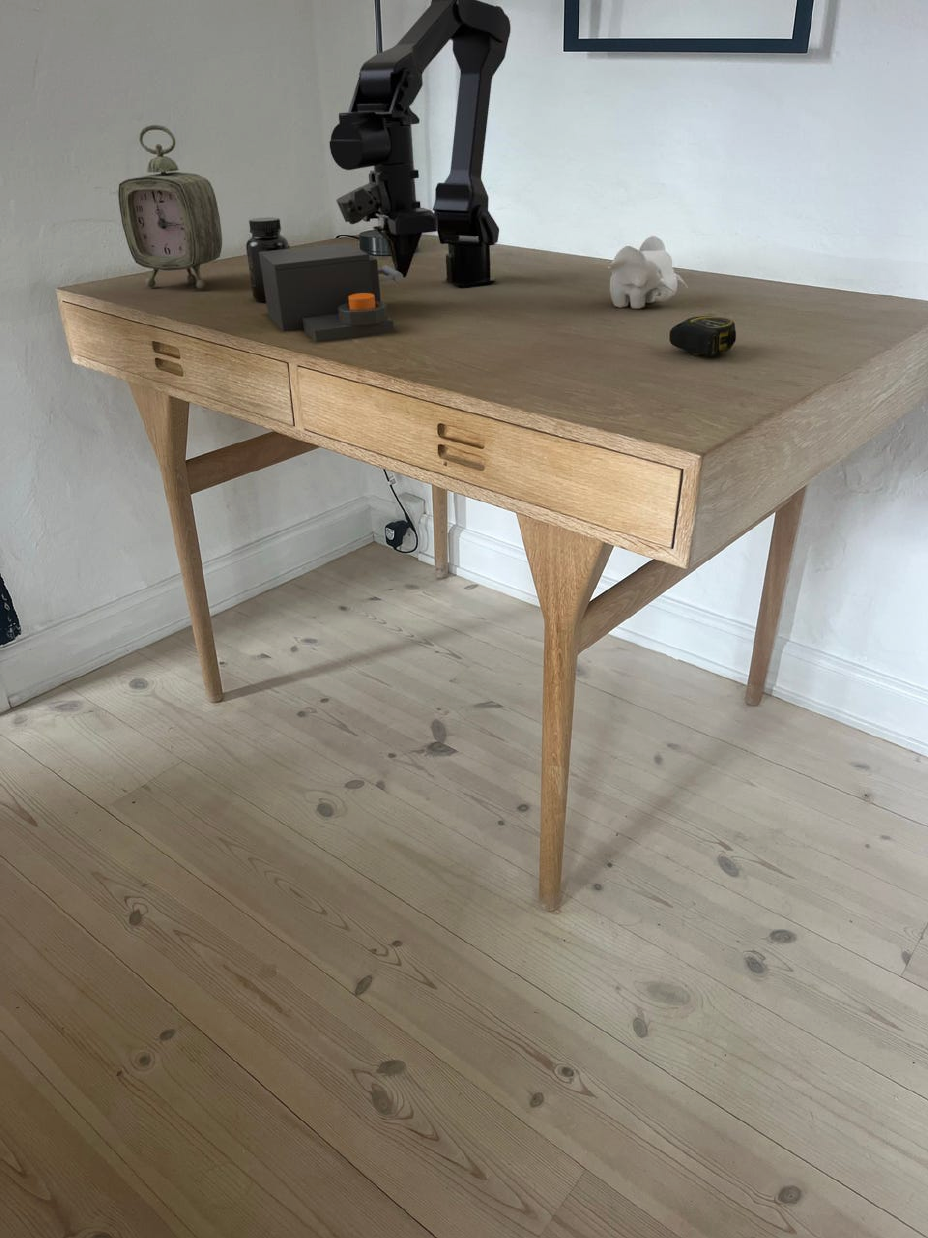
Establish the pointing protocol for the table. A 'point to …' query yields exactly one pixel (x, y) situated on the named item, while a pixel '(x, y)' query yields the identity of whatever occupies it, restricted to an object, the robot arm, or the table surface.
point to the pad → (349, 323)
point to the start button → (361, 301)
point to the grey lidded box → (312, 281)
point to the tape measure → (704, 335)
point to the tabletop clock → (170, 217)
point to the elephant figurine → (642, 275)
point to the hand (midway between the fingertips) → (401, 277)
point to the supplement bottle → (262, 249)
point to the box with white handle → (386, 270)
